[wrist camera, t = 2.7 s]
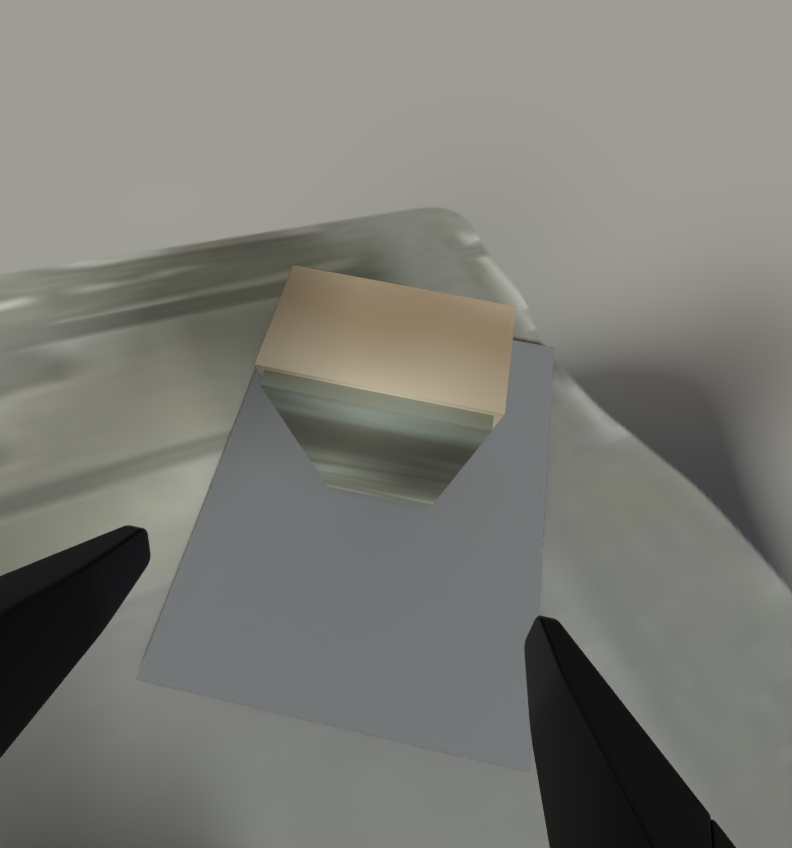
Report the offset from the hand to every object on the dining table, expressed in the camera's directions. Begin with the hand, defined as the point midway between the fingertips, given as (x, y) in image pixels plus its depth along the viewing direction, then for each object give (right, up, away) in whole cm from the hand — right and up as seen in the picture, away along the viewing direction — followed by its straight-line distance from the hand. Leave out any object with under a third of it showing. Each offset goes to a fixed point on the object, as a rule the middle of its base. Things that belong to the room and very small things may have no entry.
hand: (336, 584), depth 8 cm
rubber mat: (+1, 0, +13) cm, 13 cm away
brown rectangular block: (+1, +1, +12) cm, 13 cm away
